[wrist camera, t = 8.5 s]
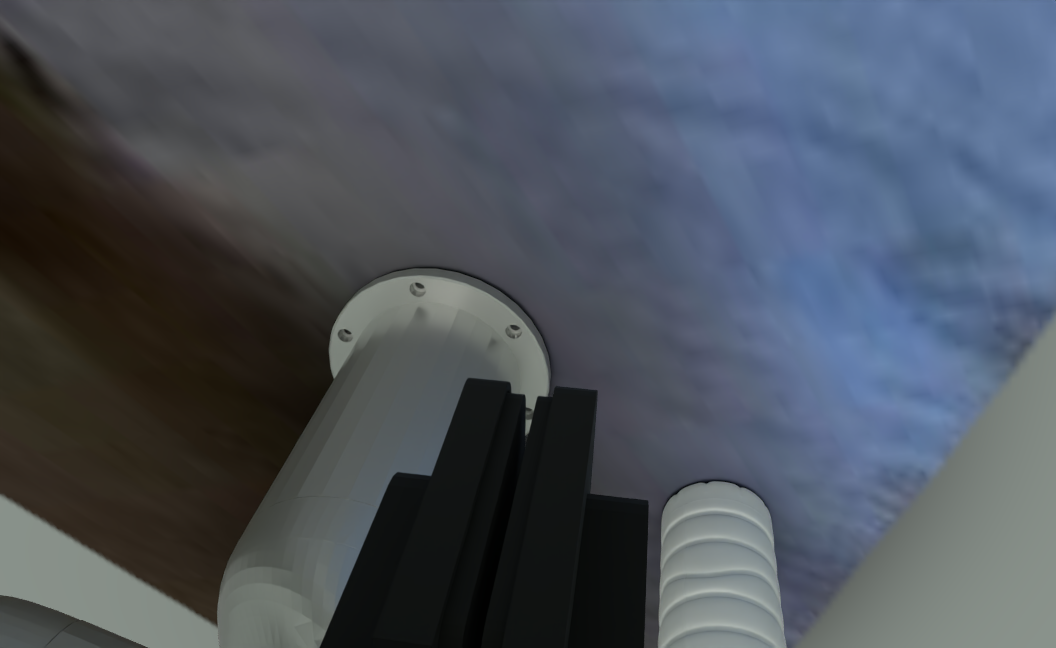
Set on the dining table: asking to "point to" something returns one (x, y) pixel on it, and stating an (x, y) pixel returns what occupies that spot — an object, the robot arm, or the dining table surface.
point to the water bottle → (718, 571)
